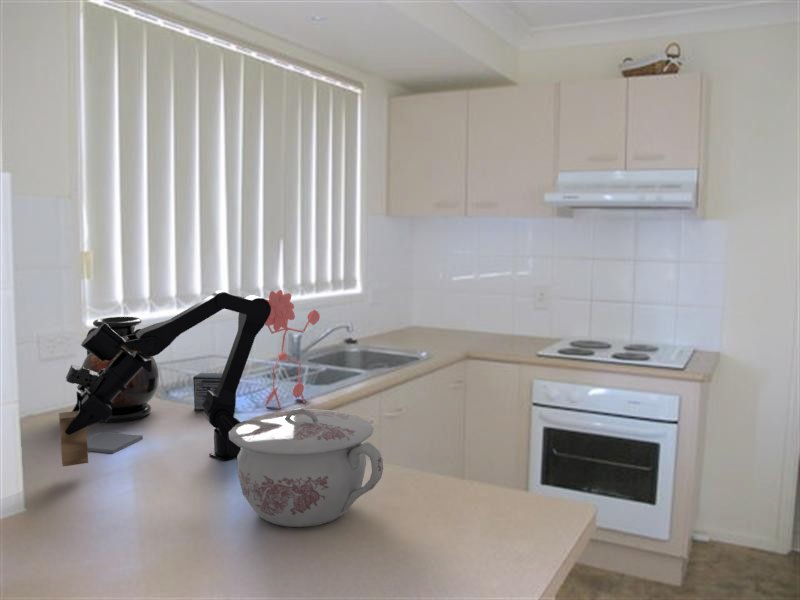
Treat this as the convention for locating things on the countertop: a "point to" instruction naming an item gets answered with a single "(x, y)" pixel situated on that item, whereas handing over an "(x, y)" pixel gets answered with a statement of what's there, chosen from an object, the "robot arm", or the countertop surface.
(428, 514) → the countertop surface
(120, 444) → the plate
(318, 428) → the chamber pot
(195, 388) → the small box
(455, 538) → the countertop surface
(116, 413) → the amphora vase
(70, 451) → the walnut block
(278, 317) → the figurine
